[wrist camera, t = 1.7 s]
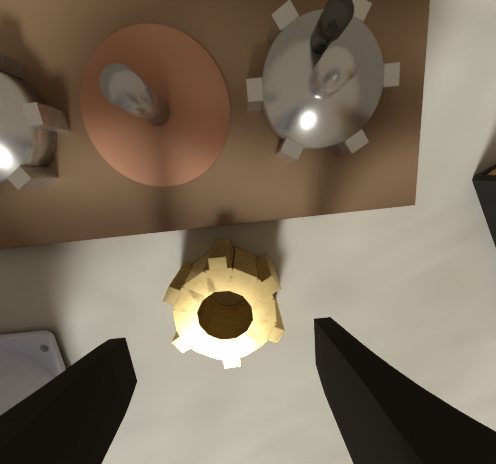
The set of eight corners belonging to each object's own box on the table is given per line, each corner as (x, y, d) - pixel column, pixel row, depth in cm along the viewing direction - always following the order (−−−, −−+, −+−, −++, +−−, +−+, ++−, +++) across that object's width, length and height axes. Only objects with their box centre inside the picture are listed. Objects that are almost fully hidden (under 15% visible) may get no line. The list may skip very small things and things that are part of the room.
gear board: (399, 202, 13) (416, 205, 12) (-28, 247, 13) (-57, 255, 12) (413, -48, 10) (437, -79, 9) (-125, 13, 10) (-176, -9, 9)
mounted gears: (376, 152, 11) (429, 144, 8) (-37, 196, 11) (-148, 206, 8) (379, 14, 10) (446, -63, 7) (-89, 66, 10) (-248, 15, 7)
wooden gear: (278, 324, 15) (287, 361, 12) (191, 333, 15) (178, 372, 12) (270, 234, 13) (278, 251, 10) (174, 244, 13) (154, 264, 10)
